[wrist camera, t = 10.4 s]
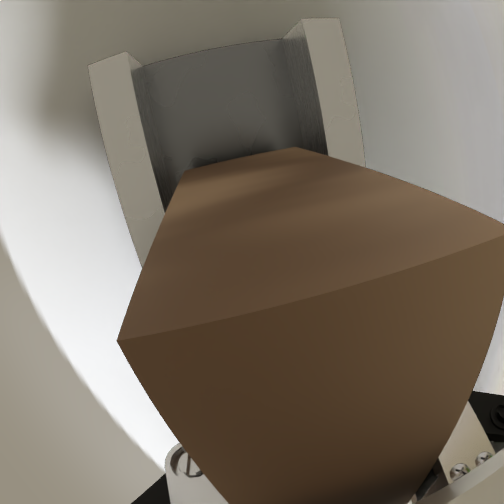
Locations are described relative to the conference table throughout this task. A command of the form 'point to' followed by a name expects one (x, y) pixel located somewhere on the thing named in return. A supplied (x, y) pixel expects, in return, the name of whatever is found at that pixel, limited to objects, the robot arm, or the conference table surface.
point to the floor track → (221, 113)
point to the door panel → (313, 326)
